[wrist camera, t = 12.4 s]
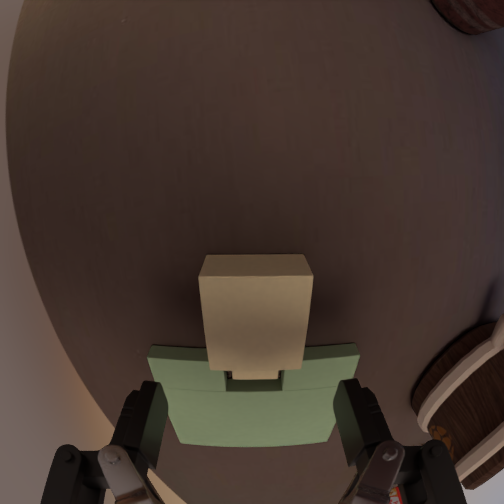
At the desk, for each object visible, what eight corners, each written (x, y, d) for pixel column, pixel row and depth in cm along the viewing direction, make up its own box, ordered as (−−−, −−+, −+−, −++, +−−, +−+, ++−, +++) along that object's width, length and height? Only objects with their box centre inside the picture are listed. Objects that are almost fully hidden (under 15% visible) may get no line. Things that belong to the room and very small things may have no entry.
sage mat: (182, 432, 25) (180, 443, 23) (151, 344, 20) (146, 357, 18) (325, 431, 25) (327, 441, 23) (355, 342, 20) (360, 354, 18)
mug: (477, 387, 25) (518, 455, 11) (394, 424, 26) (427, 516, 12) (526, 265, 18) (608, 335, 4) (438, 295, 18) (544, 425, 4)
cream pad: (217, 365, 20) (213, 394, 17) (206, 254, 17) (197, 276, 14) (292, 365, 20) (297, 393, 18) (303, 253, 17) (313, 275, 14)
